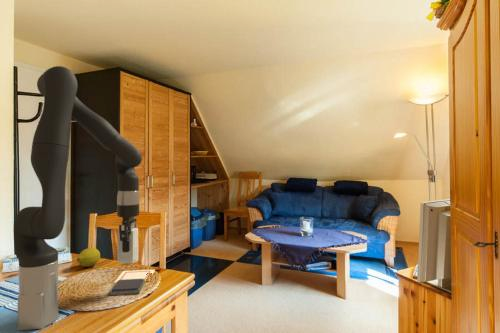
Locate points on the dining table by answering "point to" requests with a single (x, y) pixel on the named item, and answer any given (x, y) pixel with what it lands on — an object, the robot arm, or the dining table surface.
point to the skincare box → (133, 248)
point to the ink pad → (127, 286)
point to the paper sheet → (134, 274)
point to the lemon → (88, 257)
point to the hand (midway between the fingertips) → (128, 249)
